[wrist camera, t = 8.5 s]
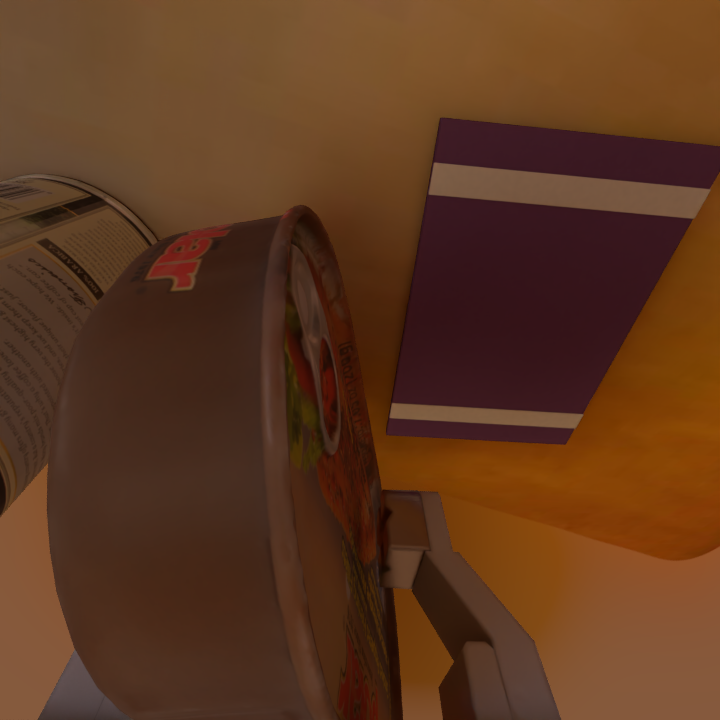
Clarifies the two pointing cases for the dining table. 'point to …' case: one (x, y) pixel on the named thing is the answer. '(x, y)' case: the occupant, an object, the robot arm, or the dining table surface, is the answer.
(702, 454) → the dining table surface
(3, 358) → the coffee can
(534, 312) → the cloth
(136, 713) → the tin
